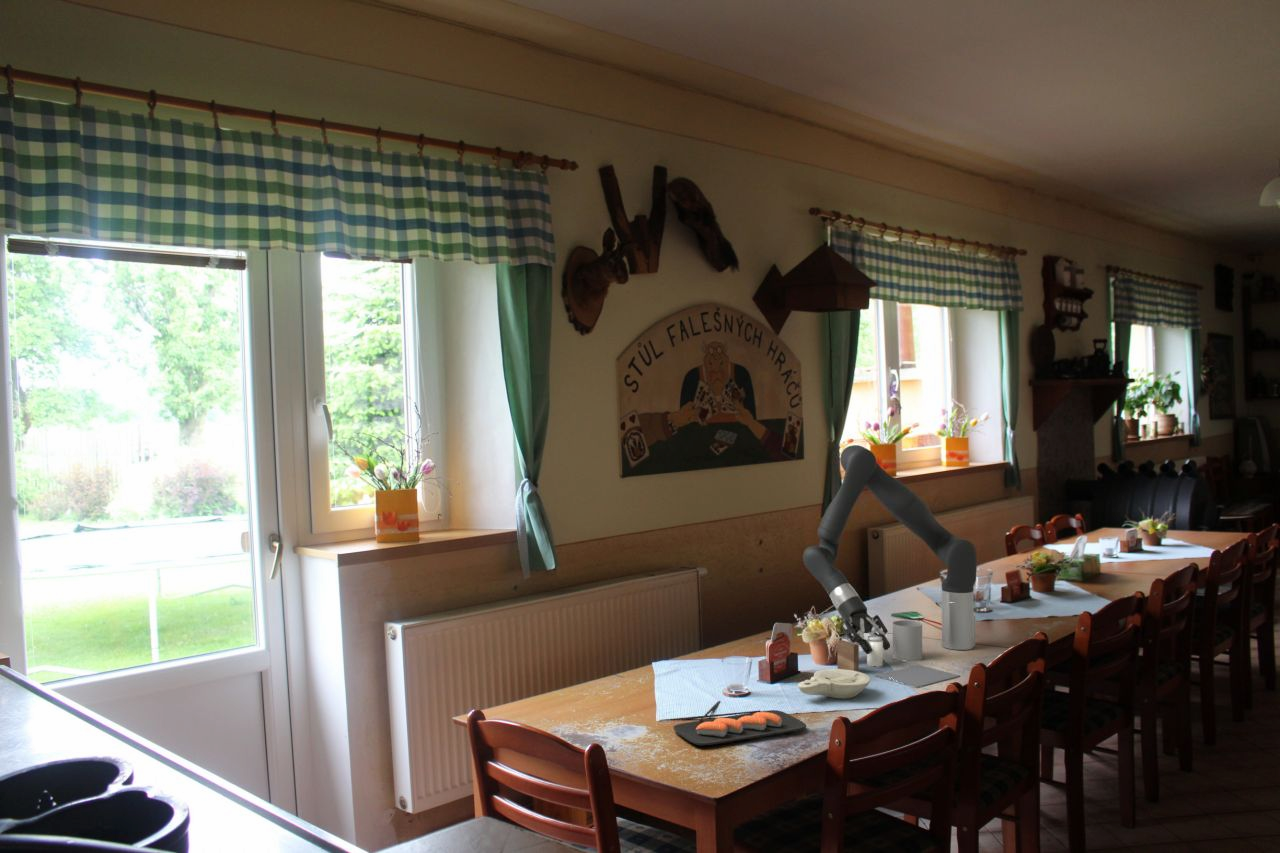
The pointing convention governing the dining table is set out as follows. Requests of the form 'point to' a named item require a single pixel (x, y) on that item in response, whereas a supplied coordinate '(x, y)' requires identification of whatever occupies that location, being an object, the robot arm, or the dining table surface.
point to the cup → (907, 640)
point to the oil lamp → (835, 683)
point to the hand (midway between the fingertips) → (879, 650)
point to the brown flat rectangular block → (848, 655)
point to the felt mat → (918, 675)
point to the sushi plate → (736, 726)
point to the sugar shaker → (875, 651)
